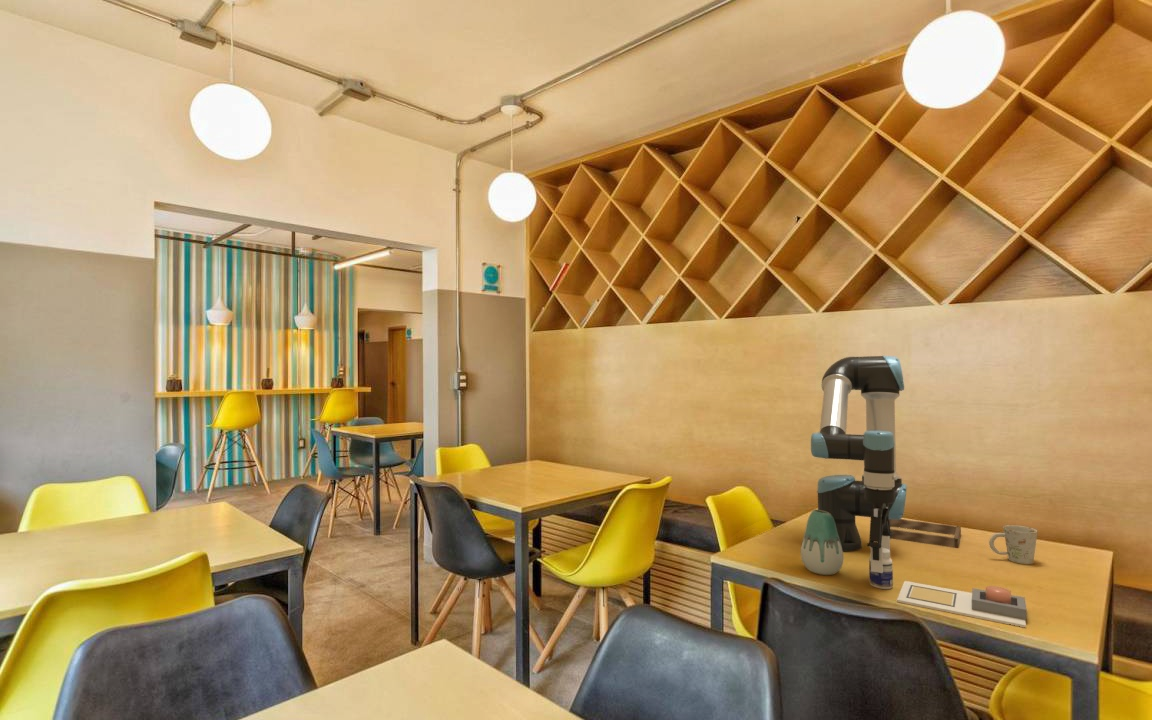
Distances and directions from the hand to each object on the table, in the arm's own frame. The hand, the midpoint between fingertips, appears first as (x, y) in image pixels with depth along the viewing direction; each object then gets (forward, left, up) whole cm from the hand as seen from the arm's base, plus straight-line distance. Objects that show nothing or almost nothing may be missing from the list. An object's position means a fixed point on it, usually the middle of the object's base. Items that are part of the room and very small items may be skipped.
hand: (880, 565), depth 158 cm
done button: (+26, -2, -4) cm, 26 cm away
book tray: (+4, +61, -6) cm, 62 cm away
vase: (-16, +3, -6) cm, 17 cm away
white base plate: (+18, -2, -6) cm, 19 cm away
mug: (+30, +46, -6) cm, 56 cm away
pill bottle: (0, 0, -6) cm, 6 cm away
